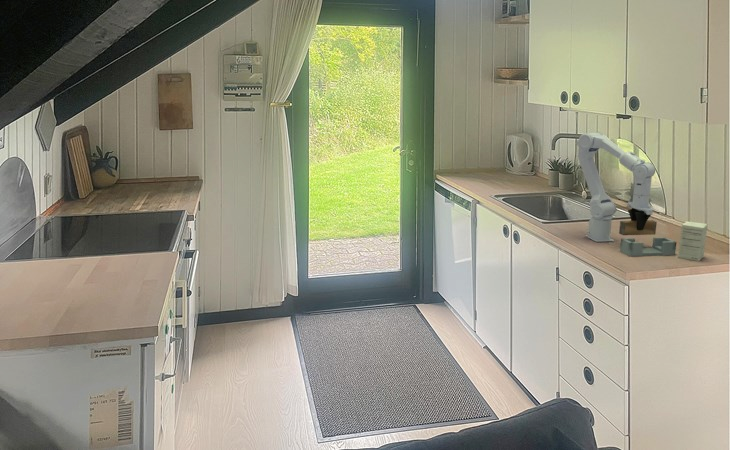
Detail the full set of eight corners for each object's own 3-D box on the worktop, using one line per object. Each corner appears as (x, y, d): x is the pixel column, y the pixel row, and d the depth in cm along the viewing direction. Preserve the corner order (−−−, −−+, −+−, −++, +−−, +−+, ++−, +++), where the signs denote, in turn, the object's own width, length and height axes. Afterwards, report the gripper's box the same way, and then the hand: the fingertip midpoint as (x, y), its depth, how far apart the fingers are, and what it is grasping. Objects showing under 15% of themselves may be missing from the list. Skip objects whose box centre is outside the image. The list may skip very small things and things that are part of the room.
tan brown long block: (619, 233, 239) (620, 221, 238) (651, 232, 240) (652, 220, 239) (622, 235, 236) (624, 222, 235) (655, 234, 237) (656, 221, 236)
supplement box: (682, 253, 231) (686, 220, 228) (704, 256, 227) (708, 223, 224) (677, 257, 226) (681, 224, 223) (699, 261, 221) (704, 227, 218)
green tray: (619, 251, 234) (621, 238, 233) (664, 249, 236) (665, 237, 235) (629, 256, 227) (630, 243, 226) (674, 254, 229) (676, 242, 228)
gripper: (662, 198, 228) (657, 233, 231) (641, 190, 242) (637, 224, 245) (644, 198, 227) (640, 233, 230) (624, 191, 241) (620, 224, 244)
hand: (637, 228), depth 238 cm, fingers closed on tan brown long block, 3 cm apart
